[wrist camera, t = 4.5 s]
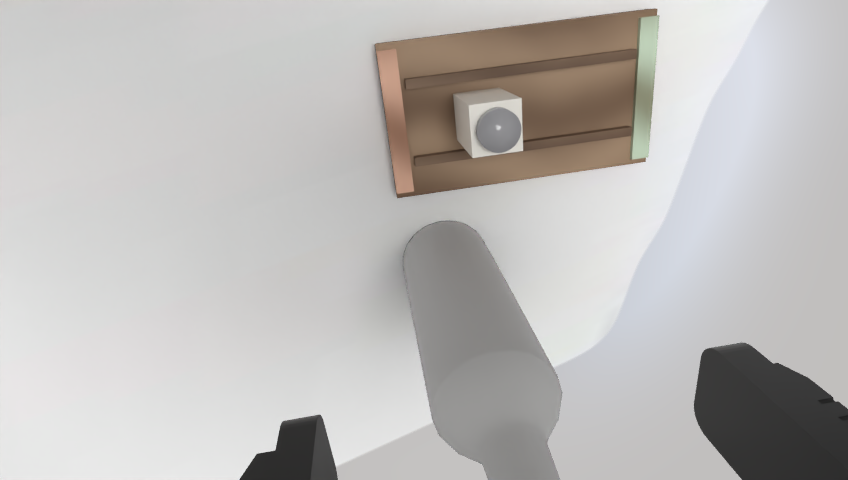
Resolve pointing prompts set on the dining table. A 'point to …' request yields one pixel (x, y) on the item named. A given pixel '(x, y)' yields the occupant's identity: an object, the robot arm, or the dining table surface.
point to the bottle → (480, 356)
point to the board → (541, 98)
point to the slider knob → (488, 122)
